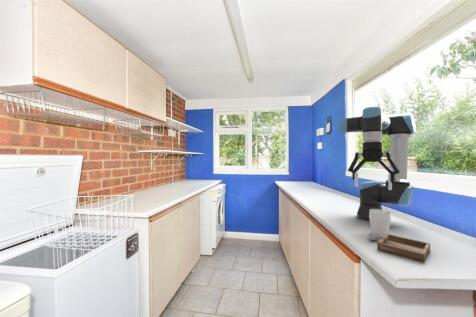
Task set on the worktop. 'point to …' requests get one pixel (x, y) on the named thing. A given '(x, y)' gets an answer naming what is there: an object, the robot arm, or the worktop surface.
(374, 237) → the ball
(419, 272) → the worktop surface
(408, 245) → the tray
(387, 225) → the cup
